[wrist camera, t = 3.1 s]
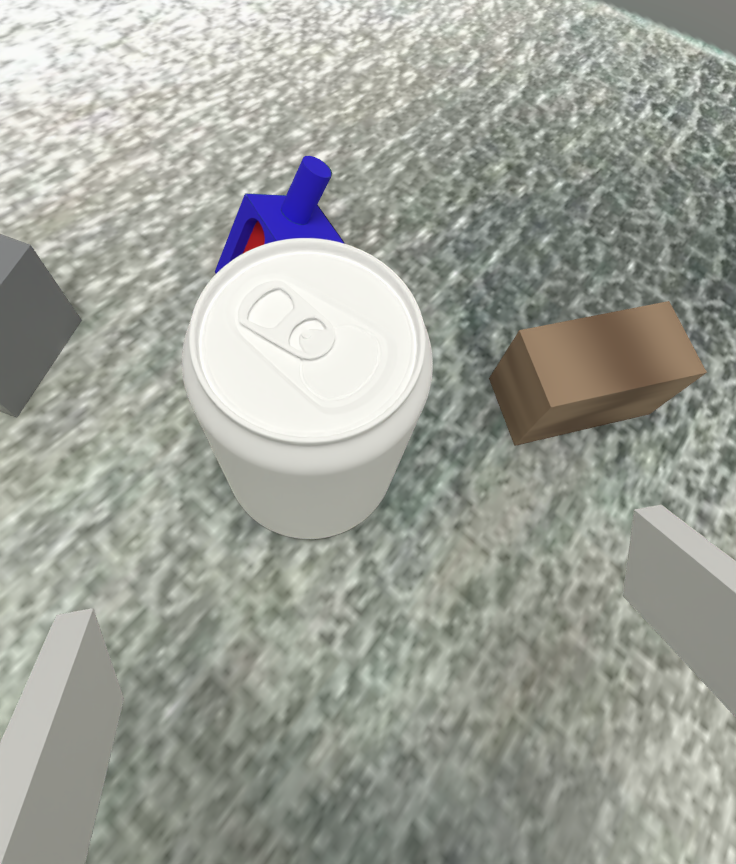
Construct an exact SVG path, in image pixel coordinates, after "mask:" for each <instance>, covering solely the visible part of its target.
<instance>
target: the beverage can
mask: <svg viewBox="0 0 736 864" xmlns="http://www.w3.org/2000/svg"><path fill="white" fill-rule="evenodd" d="M432 368H433V360H432V350H431V344H430V340H429V336H428V333H427V330H426V327H425V324H424V322H423V318H422V315H421V312H420V309H419V307H418V305H417V303H416V300H415V299H414V297H413V295H412V293H411V292H410V290H409V289H408V287H407V286H406V285H405V283H404V282H403V281H402V280H401V279H400V278H399V276H398V275H397V274H396V273H395V272H394V271H392V270H391V269H390V268H389V267H388V266H387V265H385V264H384V263H383V262H381V261H380V260H378V259H377V258H375V257H373V256H372V255H370V254H368V253H366V252H364V251H362V250H360V249H358V248H355V247H353V246H350V245H347V244H343V243H340V242H336V241H331V240H325V239H316V238H295V239H286V240H280V241H275V242H271V243H268V244H264V245H261V246H259V247H256V248H254V249H251V250H249V251H247V252H245V253H243V254H241V255H240V256H238V257H236V258H235V259H233V260H232V261H231V262H229V263H228V264H227V265H225V266H224V267H223V268H222V269H221V270H220V271H219V272H218V273H217V274H216V275H215V276H214V277H213V278H212V279H211V280H210V281H209V283H208V284H207V285H206V287H205V288H204V290H203V292H202V293H201V295H200V297H199V299H198V301H197V303H196V305H195V308H194V311H193V314H192V318H191V321H190V323H189V326H188V329H187V332H186V335H185V339H184V344H183V351H182V373H183V381H184V386H185V390H186V393H187V396H188V399H189V401H190V404H191V406H192V408H193V410H194V412H195V415H196V417H197V419H198V421H199V423H200V425H201V427H202V429H203V431H204V433H205V435H206V438H207V440H208V442H209V444H210V446H211V448H212V450H213V452H214V454H215V456H216V458H217V460H218V463H219V465H220V467H221V469H222V471H223V473H224V475H225V477H226V479H227V481H228V483H229V485H230V488H231V490H232V492H233V494H234V496H235V497H236V499H237V501H238V502H239V504H240V505H241V506H242V508H243V509H244V510H245V511H246V512H247V513H248V514H249V515H250V516H251V517H252V518H253V519H254V520H255V521H257V522H258V523H259V524H261V525H262V526H264V527H266V528H267V529H269V530H271V531H273V532H276V533H278V534H281V535H284V536H288V537H293V538H299V539H320V538H326V537H331V536H334V535H338V534H340V533H343V532H345V531H347V530H349V529H351V528H353V527H355V526H356V525H358V524H359V523H361V522H362V521H364V520H365V519H366V518H367V517H368V516H369V515H370V514H371V513H372V512H373V511H374V510H375V509H376V508H377V506H378V505H379V504H380V502H381V501H382V499H383V497H384V496H385V494H386V492H387V490H388V488H389V485H390V483H391V481H392V478H393V476H394V474H395V472H396V469H397V467H398V465H399V462H400V460H401V458H402V456H403V453H404V451H405V449H406V446H407V444H408V442H409V439H410V437H411V435H412V433H413V430H414V428H415V426H416V423H417V421H418V419H419V417H420V414H421V412H422V410H423V407H424V405H425V402H426V400H427V397H428V394H429V390H430V386H431V380H432Z"/></svg>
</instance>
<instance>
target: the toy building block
mask: <svg viewBox="0 0 736 864" xmlns="http://www.w3.org/2000/svg"><path fill="white" fill-rule="evenodd" d="M331 176H332V172H331V169H330V168H329V167H328V165H326V164H325V163H324V162H323V161H321V160H320V159H318V158H315V157H312V156H305V157H303V159H302V162H301V164H300V166H299V168H298V171H297V173H296V175H295V177H294V179H293V182H292V184H291V186H290V188H289V191H288V193H287V195H266V194H245V195H244V198H243V200H242V203H241V206H240V208H239V211H238V213H237V216H236V218H235V221H234V224H233V226H232V229H231V231H230V234H229V237H228V239H227V242H226V244H225V247H224V249H223V252H222V255H221V257H220V260H219V262H218V265H217V267H216V270H215V273H216V274H217V273H218V272H219V271H220V270H221V269H222V268H223V267H224V266H225V265H227V264H228V263H229V262H231V261H232V260H233V259H235V258H236V257H238V256H240V255H241V254H243V253H245V252H247V251H249V250H251V249H254V248H256V247H259V246H261V245H264V244H268V243H271V242H275V241H280V240H286V239H295V238H316V239H325V240H331V241H336V242H340V243H343V244H345V243H344V242H343V240H342V239H341V237H340V236H339V234H338V233H337V232H336V230H335V229H334V227H333V226H332V225H331V223H330V222H329V220H328V219H327V217H326V216H325V215H324V213H323V212H322V210H321V209H320V208H319V206H318V205H317V204H318V202H319V200H320V198H321V196H322V194H323V192H324V190H325V188H326V186H327V184H328V182H329V180H330V178H331Z"/></svg>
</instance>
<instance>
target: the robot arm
mask: <svg viewBox="0 0 736 864" xmlns="http://www.w3.org/2000/svg"><path fill="white" fill-rule="evenodd" d="M623 597H624V598H625V599H626V600H627V601H628V602H629V603H630V604H631V605H632V606H633V608H634V609H635V610H636V611H637V612H638V613H639V614H640V615H641V616H642V617H643V618H644V619H645V620H646V621H647V623H648V624H649V625H650V626H651V627H652V628H653V629H654V630H655V631H656V632H657V633H658V634H659V635H660V637H661V638H662V639H663V640H664V641H665V642H666V643H667V644H668V645H669V646H670V647H671V648H672V649H673V651H674V652H675V653H676V654H677V655H678V656H679V657H680V658H681V659H682V660H683V661H684V662H685V663H686V665H687V666H688V667H689V668H690V669H691V670H692V671H693V672H694V673H695V674H696V675H697V676H698V677H699V678H700V680H701V681H702V682H703V683H704V684H705V685H706V686H707V687H708V688H709V689H710V690H711V691H712V692H713V694H714V695H715V696H716V697H717V698H718V699H719V700H720V701H721V702H722V703H723V704H724V705H725V706H726V708H727V709H728V710H729V711H730V712H731V713H732V714H733V715H734V716H735V717H736V561H735V560H734V559H732V558H731V557H730V556H728V555H727V554H726V553H724V552H723V551H722V550H720V549H719V548H718V547H716V546H715V545H714V544H712V543H711V542H710V541H708V540H707V539H706V538H704V537H703V536H702V535H701V534H699V533H698V532H697V531H695V530H694V529H693V528H691V527H690V526H689V525H687V524H686V523H685V522H683V521H682V520H681V519H679V518H678V517H677V516H675V515H674V514H673V513H671V512H670V511H669V510H668V509H666V508H665V507H664V506H662V505H657V506H652V507H646V508H641V509H635V510H634V515H633V522H632V530H631V537H630V545H629V552H628V560H627V567H626V574H625V582H624V589H623ZM123 701H124V697H123V694H122V691H121V688H120V685H119V682H118V679H117V676H116V674H115V671H114V668H113V665H112V662H111V659H110V656H109V653H108V650H107V647H106V644H105V641H104V638H103V635H102V632H101V629H100V626H99V623H98V621H97V618H96V615H95V612H94V609H93V608H92V609H86V610H81V611H75V612H70V613H64V614H59V615H56V617H55V619H54V622H53V624H52V626H51V628H50V631H49V633H48V635H47V637H46V640H45V642H44V644H43V647H42V649H41V651H40V653H39V656H38V658H37V660H36V662H35V665H34V667H33V669H32V671H31V674H30V676H29V678H28V681H27V683H26V685H25V687H24V690H23V692H22V694H21V696H20V699H19V701H18V703H17V706H16V708H15V710H14V712H13V715H12V717H11V719H10V721H9V724H8V726H7V728H6V730H5V733H4V735H3V737H2V740H1V742H0V864H85V862H86V858H87V854H88V849H89V845H90V841H91V837H92V832H93V828H94V824H95V820H96V815H97V811H98V807H99V803H100V798H101V794H102V790H103V786H104V782H105V777H106V773H107V769H108V765H109V760H110V756H111V752H112V748H113V743H114V739H115V735H116V731H117V726H118V722H119V718H120V714H121V709H122V705H123Z"/></svg>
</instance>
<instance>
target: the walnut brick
mask: <svg viewBox="0 0 736 864" xmlns="http://www.w3.org/2000/svg"><path fill="white" fill-rule="evenodd" d="M705 373H707V372H706V370H705V368H704V366H703V365H702V363H701V361H700V359H699V357H698V355H697V353H696V351H695V349H694V347H693V346H692V344H691V342H690V340H689V338H688V336H687V334H686V332H685V330H684V328H683V327H682V325H681V323H680V321H679V319H678V317H677V315H676V313H675V311H674V309H673V308H672V306H671V304H670V302H669V301H668V302H663V303H657V304H652V305H647V306H642V307H637V308H632V309H627V310H621V311H616V312H611V313H606V314H601V315H596V316H591V317H585V318H580V319H575V320H570V321H565V322H560V323H555V324H550V325H544V326H539V327H534V328H529V329H524V330H519V332H518V333H517V335H516V336H515V338H514V340H513V341H512V343H511V344H510V346H509V348H508V349H507V351H506V352H505V354H504V356H503V357H502V359H501V360H500V362H499V363H498V365H497V367H496V368H495V370H494V371H493V373H492V375H491V376H490V378H489V379H490V382H491V385H492V387H493V390H494V393H495V395H496V398H497V400H498V403H499V406H500V408H501V411H502V414H503V416H504V419H505V422H506V424H507V427H508V430H509V432H510V435H511V437H512V440H513V443H514V445H520V444H524V443H528V442H533V441H537V440H541V439H545V438H550V437H554V436H558V435H563V434H567V433H571V432H575V431H580V430H584V429H588V428H592V427H597V426H601V425H605V424H610V423H614V422H618V421H622V420H627V419H631V418H635V417H640V416H644V415H648V414H650V413H652V412H653V411H654V410H656V409H657V408H659V407H660V406H661V405H663V404H664V403H665V402H667V401H668V400H670V399H671V398H672V397H674V396H675V395H676V394H678V393H679V392H681V391H682V390H683V389H685V388H686V387H687V386H689V385H690V384H692V383H693V382H694V381H696V380H697V379H698V378H700V377H701V376H703V375H704V374H705Z"/></svg>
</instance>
